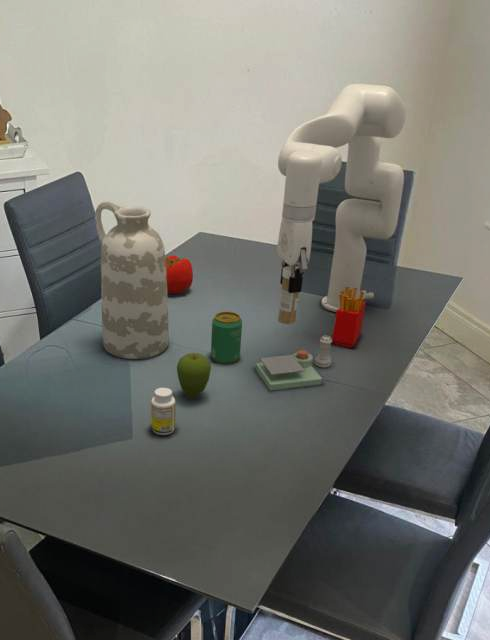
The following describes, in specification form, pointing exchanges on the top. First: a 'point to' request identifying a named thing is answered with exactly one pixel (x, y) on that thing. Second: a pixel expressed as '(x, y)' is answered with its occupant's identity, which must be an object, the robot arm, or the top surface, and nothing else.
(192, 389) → the apple
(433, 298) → the top surface
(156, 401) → the supplement bottle
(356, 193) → the robot arm
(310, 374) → the scale
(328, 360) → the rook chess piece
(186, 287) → the tomato
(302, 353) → the tare button
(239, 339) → the beverage can
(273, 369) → the scale pan
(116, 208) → the vase
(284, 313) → the sprinkles bottle
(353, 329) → the french fries container
